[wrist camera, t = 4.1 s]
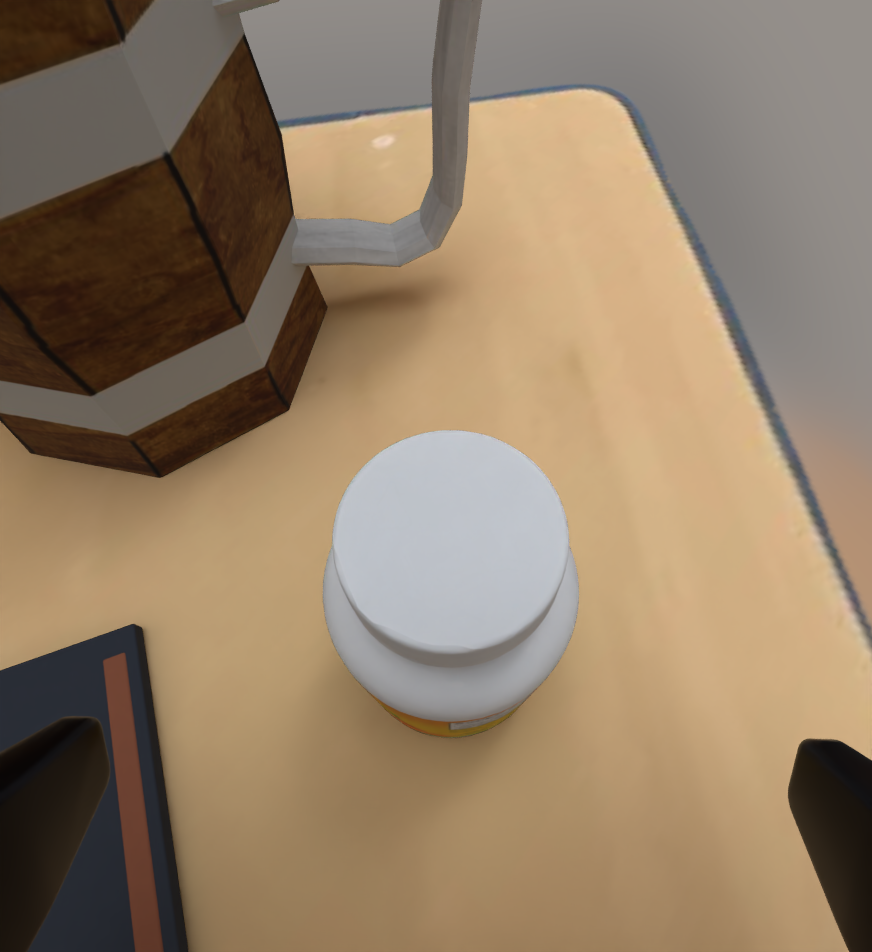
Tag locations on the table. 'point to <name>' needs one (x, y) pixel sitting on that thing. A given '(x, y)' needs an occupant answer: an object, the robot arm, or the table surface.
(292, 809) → the table surface
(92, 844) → the placemat
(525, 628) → the supplement bottle
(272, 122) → the mug
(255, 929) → the table surface
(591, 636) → the table surface
